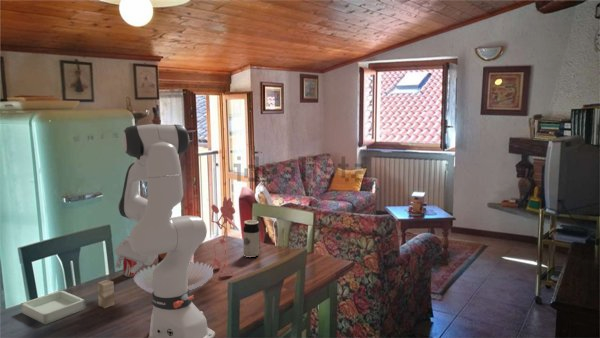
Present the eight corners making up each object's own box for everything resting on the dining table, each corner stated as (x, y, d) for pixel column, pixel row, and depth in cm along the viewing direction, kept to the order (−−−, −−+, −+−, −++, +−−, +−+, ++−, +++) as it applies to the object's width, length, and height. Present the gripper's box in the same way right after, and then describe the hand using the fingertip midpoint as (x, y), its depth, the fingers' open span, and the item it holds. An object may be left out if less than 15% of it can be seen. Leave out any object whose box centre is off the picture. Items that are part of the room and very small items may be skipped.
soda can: (133, 277, 200) (132, 251, 198) (120, 276, 201) (119, 250, 199) (140, 272, 206) (140, 247, 204) (128, 271, 207) (127, 246, 205)
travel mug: (252, 252, 238) (253, 219, 235) (262, 256, 232) (262, 222, 229) (240, 255, 232) (240, 221, 230) (249, 259, 227) (249, 224, 224)
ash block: (114, 304, 173) (113, 281, 172) (105, 308, 170) (104, 285, 168) (108, 301, 175) (107, 279, 174) (98, 305, 172) (97, 282, 170)
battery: (162, 270, 209) (162, 249, 208) (157, 266, 215) (157, 246, 213) (171, 268, 212) (171, 248, 210) (167, 264, 217) (166, 244, 216)
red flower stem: (225, 283, 195) (227, 203, 191) (201, 266, 216) (202, 193, 212) (256, 277, 204) (258, 200, 200) (231, 261, 225) (232, 191, 221)
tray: (85, 308, 168) (85, 300, 168) (45, 324, 156) (44, 314, 155) (62, 298, 177) (61, 290, 177) (21, 312, 165) (20, 303, 164)
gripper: (123, 231, 188) (102, 260, 181) (156, 239, 177) (135, 271, 170) (132, 239, 192) (113, 267, 185) (165, 248, 181) (145, 278, 174)
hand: (124, 269), depth 178 cm, fingers open, 8 cm apart
